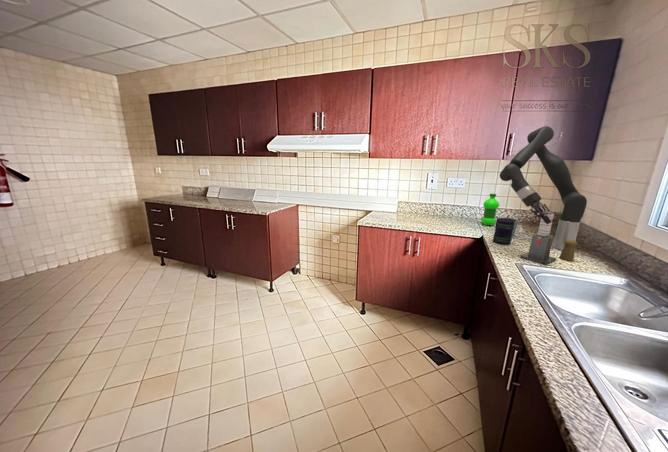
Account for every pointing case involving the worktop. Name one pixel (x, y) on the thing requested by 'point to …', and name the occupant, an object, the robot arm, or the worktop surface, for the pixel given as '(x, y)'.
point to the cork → (568, 250)
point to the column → (545, 225)
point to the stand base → (540, 250)
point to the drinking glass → (514, 225)
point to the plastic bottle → (490, 210)
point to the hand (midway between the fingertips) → (550, 222)
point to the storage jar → (503, 231)
